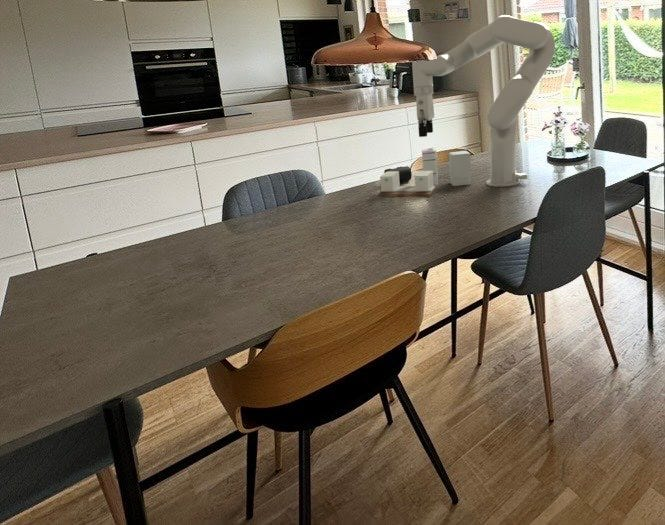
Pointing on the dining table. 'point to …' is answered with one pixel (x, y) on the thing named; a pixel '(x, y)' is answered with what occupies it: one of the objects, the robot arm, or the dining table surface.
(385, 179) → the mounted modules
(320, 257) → the dining table surface
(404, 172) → the end cap
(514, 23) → the robot arm
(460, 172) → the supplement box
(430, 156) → the syrup box
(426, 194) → the rail board
